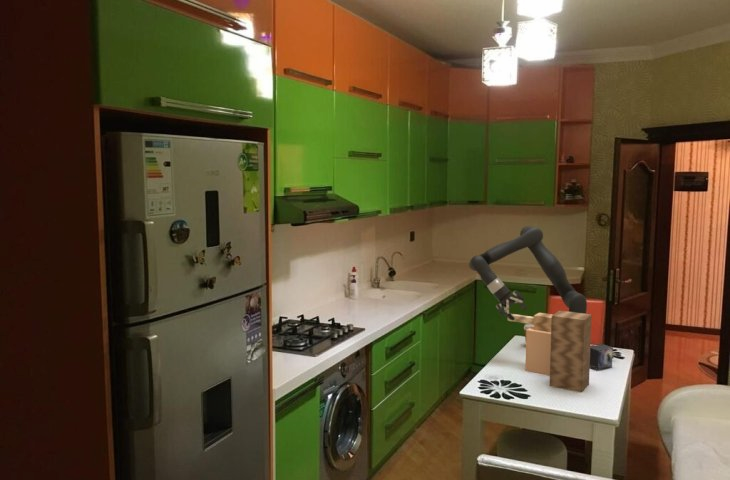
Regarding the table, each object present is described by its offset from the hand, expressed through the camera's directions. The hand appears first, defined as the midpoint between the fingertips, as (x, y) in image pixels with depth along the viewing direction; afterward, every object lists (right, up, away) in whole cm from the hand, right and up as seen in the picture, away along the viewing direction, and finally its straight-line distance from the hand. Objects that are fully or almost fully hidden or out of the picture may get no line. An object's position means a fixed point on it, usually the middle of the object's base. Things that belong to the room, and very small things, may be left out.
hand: (519, 314), depth 283 cm
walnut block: (+15, -28, -26) cm, 41 cm away
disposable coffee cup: (+15, -22, +31) cm, 41 cm away
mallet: (+5, -6, -4) cm, 8 cm away
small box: (+38, -26, -3) cm, 46 cm away
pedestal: (+10, -26, -5) cm, 28 cm away
